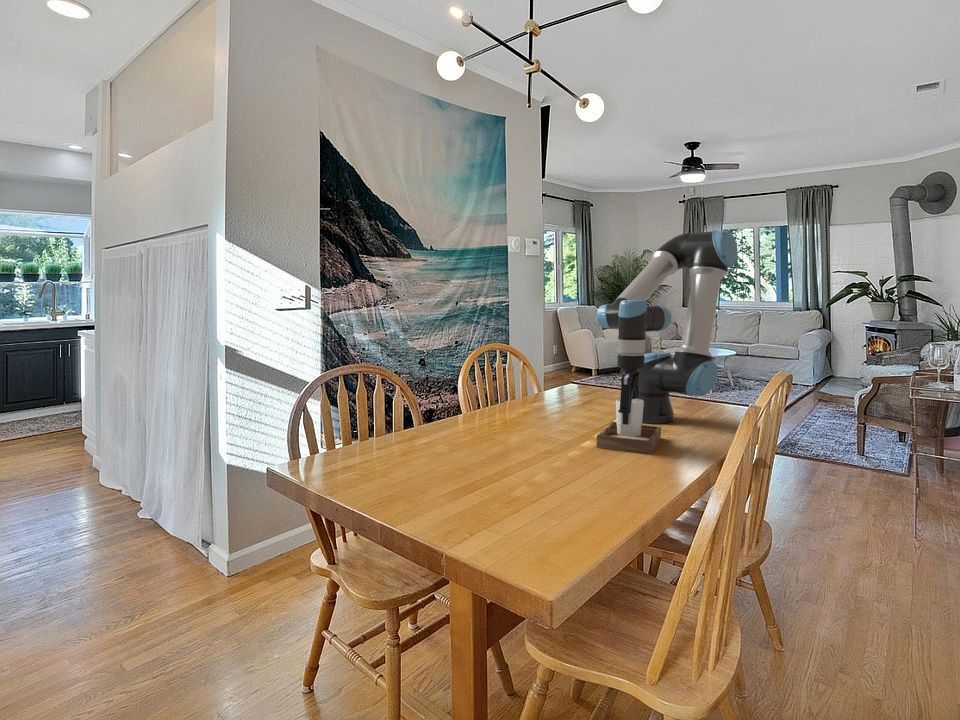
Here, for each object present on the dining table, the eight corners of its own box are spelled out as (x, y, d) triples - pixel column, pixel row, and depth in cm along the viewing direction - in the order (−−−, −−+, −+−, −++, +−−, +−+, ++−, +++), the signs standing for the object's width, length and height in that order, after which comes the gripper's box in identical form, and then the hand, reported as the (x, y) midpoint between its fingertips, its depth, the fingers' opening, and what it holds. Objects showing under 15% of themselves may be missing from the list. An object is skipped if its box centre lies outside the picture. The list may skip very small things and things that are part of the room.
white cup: (643, 438, 161) (645, 403, 159) (615, 436, 162) (616, 402, 161) (641, 431, 168) (642, 398, 167) (614, 429, 170) (615, 397, 169)
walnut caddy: (611, 432, 178) (611, 421, 178) (660, 438, 172) (661, 426, 171) (596, 447, 162) (596, 435, 162) (650, 454, 156) (650, 441, 155)
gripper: (625, 349, 173) (623, 422, 176) (609, 357, 155) (607, 438, 158) (650, 350, 170) (648, 425, 173) (637, 358, 152) (634, 441, 155)
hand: (628, 431), depth 165 cm, fingers closed on white cup, 8 cm apart
